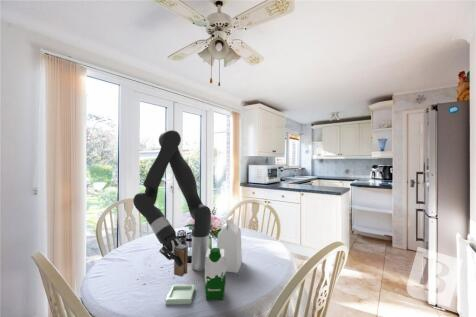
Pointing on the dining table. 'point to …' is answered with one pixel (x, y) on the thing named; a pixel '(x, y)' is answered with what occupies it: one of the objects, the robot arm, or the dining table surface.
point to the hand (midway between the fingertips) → (184, 263)
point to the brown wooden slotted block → (183, 254)
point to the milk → (231, 245)
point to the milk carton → (215, 274)
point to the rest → (180, 294)
